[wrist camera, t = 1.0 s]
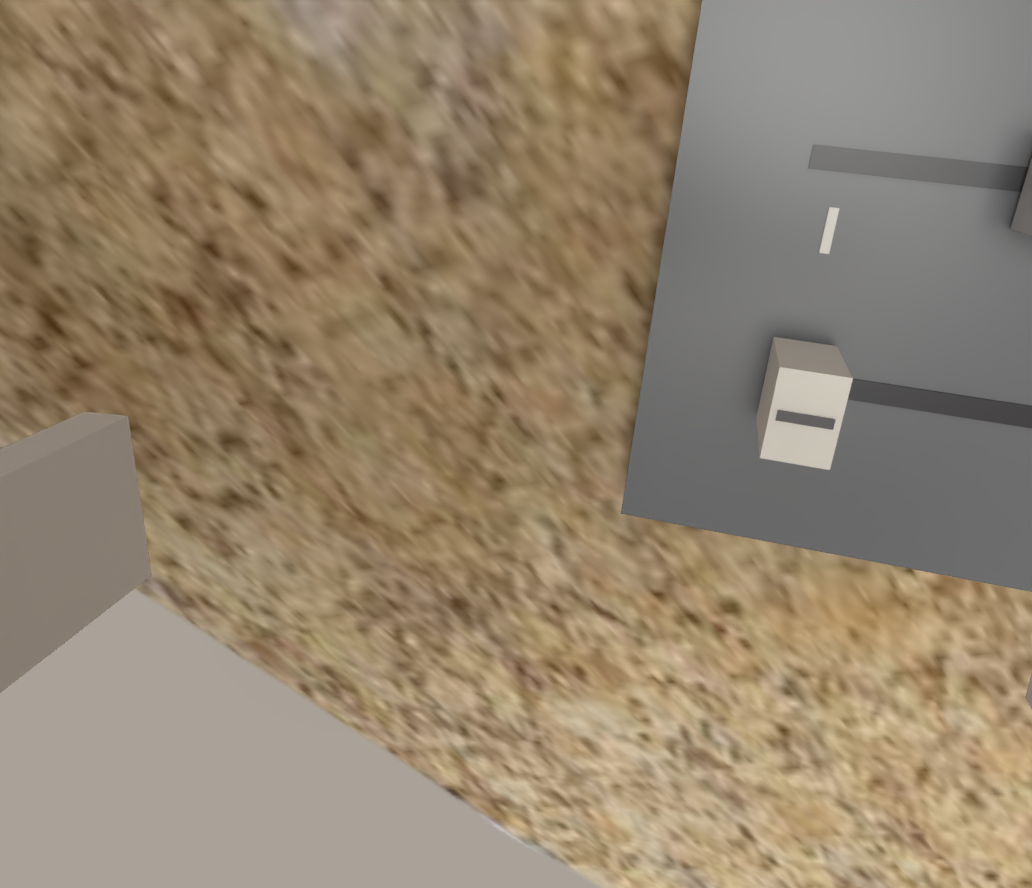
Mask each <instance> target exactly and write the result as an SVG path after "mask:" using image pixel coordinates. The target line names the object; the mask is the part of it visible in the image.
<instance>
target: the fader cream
mask: <svg viewBox="0 0 1032 888" xmlns="http://www.w3.org/2000/svg"><path fill="white" fill-rule="evenodd" d="M852 380H853V377H852V375H851V373H850V371H849V369H848V367H847V365H846V363H845V361H844V359H843V357H842V355H841V353H840V351H839V349H838V347H837V346H833V345H827V344H820V343H813V342H806V341H799V340H793V339H786V338H779V337H773V341H772V346H771V351H770V355H769V360H768V365H767V370H766V374H765V379H764V384H763V388H762V393H761V398H760V402H759V407H758V412H757V417H756V419H757V431H758V443H759V454H760V458H762V459H768V460H774V461H780V462H786V463H791V464H797V465H803V466H809V467H814V468H820V469H826V470H830V468H831V464H832V460H833V456H834V452H835V448H836V444H837V440H838V436H839V432H840V428H841V424H842V420H843V416H844V412H845V408H846V404H847V400H848V396H849V392H850V388H851V384H852Z"/></svg>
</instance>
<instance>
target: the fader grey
mask: <svg viewBox="0 0 1032 888" xmlns="http://www.w3.org/2000/svg"><path fill="white" fill-rule="evenodd" d="M1011 229H1012V230H1015V231H1018V232H1021V233H1024V234H1027V235H1030V236H1032V159H1031V162H1030V166H1029V169H1028V172H1027V175H1026V179H1025V182H1024V185H1023V189H1022V192H1021V195H1020V199H1019V202H1018V205H1017V209H1016V212H1015V215H1014V219H1013V222H1012V225H1011Z"/></svg>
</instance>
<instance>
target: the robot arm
mask: <svg viewBox="0 0 1032 888" xmlns="http://www.w3.org/2000/svg"><path fill="white" fill-rule="evenodd" d="M151 575H152V573H151V567H150V560H149V553H148V547H147V540H146V533H145V526H144V520H143V513H142V506H141V500H140V493H139V486H138V479H137V473H136V466H135V459H134V453H133V446H132V439H131V432H130V426H129V419H128V416H123V415H113V414H103V413H93V412H83V413H80V414H78V415H76V416H73V417H71V418H69V419H67V420H64V421H62V422H60V423H58V424H55V425H53V426H51V427H49V428H46V429H44V430H42V431H39V432H37V433H35V434H33V435H30V436H28V437H26V438H24V439H21V440H19V441H17V442H15V443H12V444H10V445H8V446H5V447H3V448H1V449H0V693H1V692H2V691H3V690H5V689H6V688H7V687H8V686H9V685H11V684H12V683H13V682H15V681H16V680H17V679H19V678H20V677H21V676H23V675H24V674H25V673H26V672H27V671H29V670H30V669H32V668H33V667H34V666H35V665H37V664H38V663H39V662H41V661H42V660H43V659H44V658H46V657H47V656H48V655H50V654H51V653H52V652H53V651H54V650H56V649H57V648H58V647H60V646H61V645H62V644H64V643H65V642H66V641H67V640H69V639H70V638H71V637H72V636H74V635H75V634H76V633H78V632H79V631H80V630H82V629H83V628H84V627H85V626H87V625H88V624H89V623H90V622H92V621H93V620H94V619H96V618H97V617H98V616H100V615H101V614H102V613H103V612H105V611H106V610H107V609H109V608H110V607H111V606H112V605H114V604H115V603H116V602H117V601H119V600H120V599H121V598H123V597H124V596H125V595H126V594H128V593H129V592H130V591H132V590H133V589H134V588H136V587H137V586H138V585H139V584H141V583H142V582H143V581H144V580H146V579H147V578H148V577H150V576H151ZM1026 699H1027V701H1028V703H1029V705H1030V707H1031V709H1032V675H1031V678H1030V682H1029V686H1028V689H1027V693H1026Z"/></svg>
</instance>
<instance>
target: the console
mask: <svg viewBox="0 0 1032 888" xmlns="http://www.w3.org/2000/svg"><path fill="white" fill-rule="evenodd" d="M1031 159H1032V0H702V5H701V12H700V18H699V24H698V31H697V37H696V43H695V49H694V56H693V62H692V68H691V75H690V81H689V87H688V94H687V100H686V106H685V113H684V119H683V125H682V132H681V138H680V144H679V151H678V157H677V163H676V169H675V176H674V182H673V188H672V195H671V201H670V207H669V214H668V220H667V226H666V233H665V239H664V245H663V252H662V258H661V264H660V270H659V277H658V283H657V289H656V296H655V302H654V308H653V315H652V321H651V327H650V334H649V340H648V346H647V353H646V359H645V365H644V372H643V378H642V384H641V390H640V397H639V403H638V409H637V416H636V422H635V428H634V435H633V441H632V447H631V454H630V460H629V466H628V473H627V479H626V485H625V491H624V498H623V504H622V510H621V514H626V515H631V516H637V517H642V518H647V519H652V520H658V521H663V522H668V523H673V524H679V525H684V526H689V527H694V528H700V529H705V530H710V531H715V532H721V533H726V534H731V535H736V536H742V537H747V538H752V539H757V540H763V541H768V542H773V543H778V544H784V545H789V546H794V547H799V548H805V549H810V550H815V551H820V552H826V553H831V554H836V555H842V556H847V557H852V558H857V559H863V560H868V561H873V562H878V563H884V564H889V565H894V566H899V567H905V568H910V569H915V570H920V571H926V572H931V573H936V574H941V575H947V576H952V577H957V578H962V579H968V580H973V581H978V582H983V583H989V584H994V585H999V586H1004V587H1010V588H1015V589H1020V590H1025V591H1031V592H1032V236H1030V235H1027V234H1024V233H1021V232H1018V231H1015V230H1012V229H1011V225H1012V222H1013V219H1014V215H1015V212H1016V209H1017V205H1018V202H1019V199H1020V195H1021V192H1022V189H1023V185H1024V182H1025V179H1026V175H1027V172H1028V169H1029V166H1030V162H1031ZM773 337H779V338H786V339H793V340H799V341H806V342H813V343H820V344H827V345H833V346H837V347H838V349H839V351H840V353H841V355H842V357H843V359H844V361H845V363H846V365H847V367H848V369H849V371H850V373H851V375H852V377H853V380H852V384H851V388H850V392H849V396H848V400H847V404H846V408H845V412H844V416H843V420H842V424H841V428H840V432H839V436H838V440H837V444H836V448H835V452H834V456H833V460H832V464H831V468H830V470H826V469H820V468H814V467H809V466H803V465H797V464H791V463H786V462H780V461H774V460H768V459H762V458H760V454H759V443H758V431H757V419H756V417H757V412H758V407H759V402H760V398H761V393H762V388H763V384H764V379H765V374H766V370H767V365H768V360H769V355H770V351H771V346H772V341H773Z"/></svg>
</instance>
